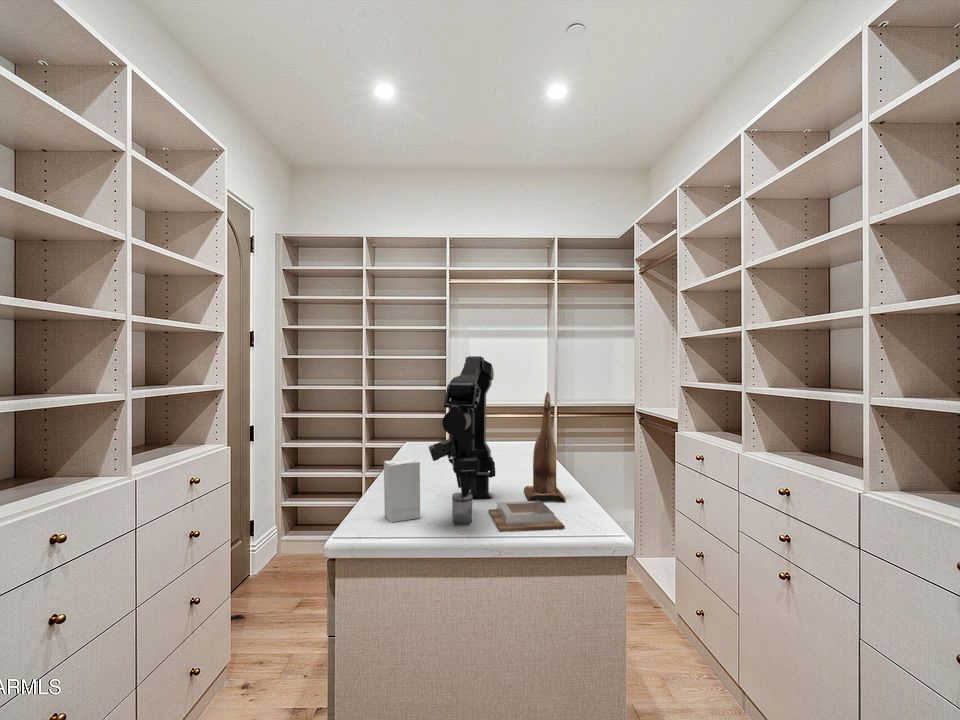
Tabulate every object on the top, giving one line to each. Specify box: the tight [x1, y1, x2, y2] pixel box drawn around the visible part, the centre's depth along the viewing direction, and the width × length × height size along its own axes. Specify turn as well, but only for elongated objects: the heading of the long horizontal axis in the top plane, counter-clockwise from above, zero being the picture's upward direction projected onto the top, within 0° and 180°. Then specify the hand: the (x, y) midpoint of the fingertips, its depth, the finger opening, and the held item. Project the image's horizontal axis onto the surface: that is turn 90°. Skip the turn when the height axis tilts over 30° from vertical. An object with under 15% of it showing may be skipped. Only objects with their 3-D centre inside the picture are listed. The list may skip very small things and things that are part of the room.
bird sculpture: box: [523, 391, 567, 503], centre depth 149 cm, size 11×12×32 cm
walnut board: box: [488, 508, 566, 533], centre depth 127 cm, size 16×16×1 cm
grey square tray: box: [496, 500, 555, 525], centre depth 127 cm, size 12×12×2 cm
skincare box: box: [383, 457, 421, 524], centre depth 128 cm, size 8×6×15 cm
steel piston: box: [451, 492, 473, 527], centre depth 124 cm, size 5×5×7 cm
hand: (462, 492), depth 125 cm, fingers open, 9 cm apart
